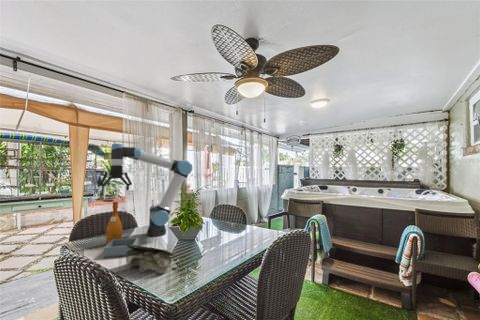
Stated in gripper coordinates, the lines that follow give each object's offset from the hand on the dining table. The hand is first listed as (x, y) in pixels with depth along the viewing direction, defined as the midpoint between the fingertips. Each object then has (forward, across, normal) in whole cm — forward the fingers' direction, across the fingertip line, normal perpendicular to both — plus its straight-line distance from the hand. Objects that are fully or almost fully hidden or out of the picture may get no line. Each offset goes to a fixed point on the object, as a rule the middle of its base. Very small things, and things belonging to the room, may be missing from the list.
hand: (115, 195), depth 151 cm
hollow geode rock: (+35, -28, +43) cm, 62 cm away
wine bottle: (+35, 0, 0) cm, 35 cm away
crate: (+34, -9, +16) cm, 39 cm away
